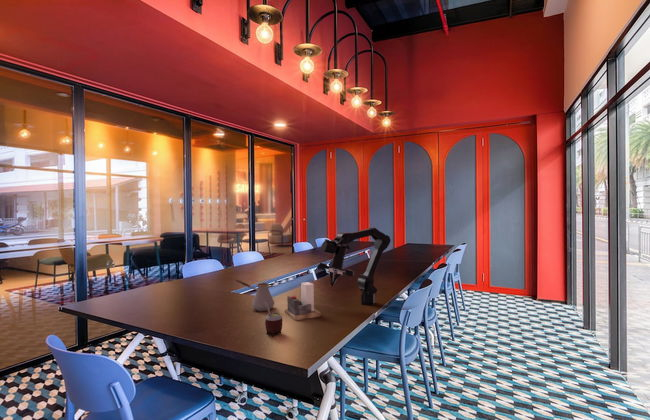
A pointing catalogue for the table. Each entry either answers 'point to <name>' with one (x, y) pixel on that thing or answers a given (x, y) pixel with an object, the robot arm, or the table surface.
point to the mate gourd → (273, 323)
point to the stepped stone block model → (299, 309)
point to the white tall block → (307, 294)
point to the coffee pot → (261, 296)
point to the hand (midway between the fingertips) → (332, 286)
